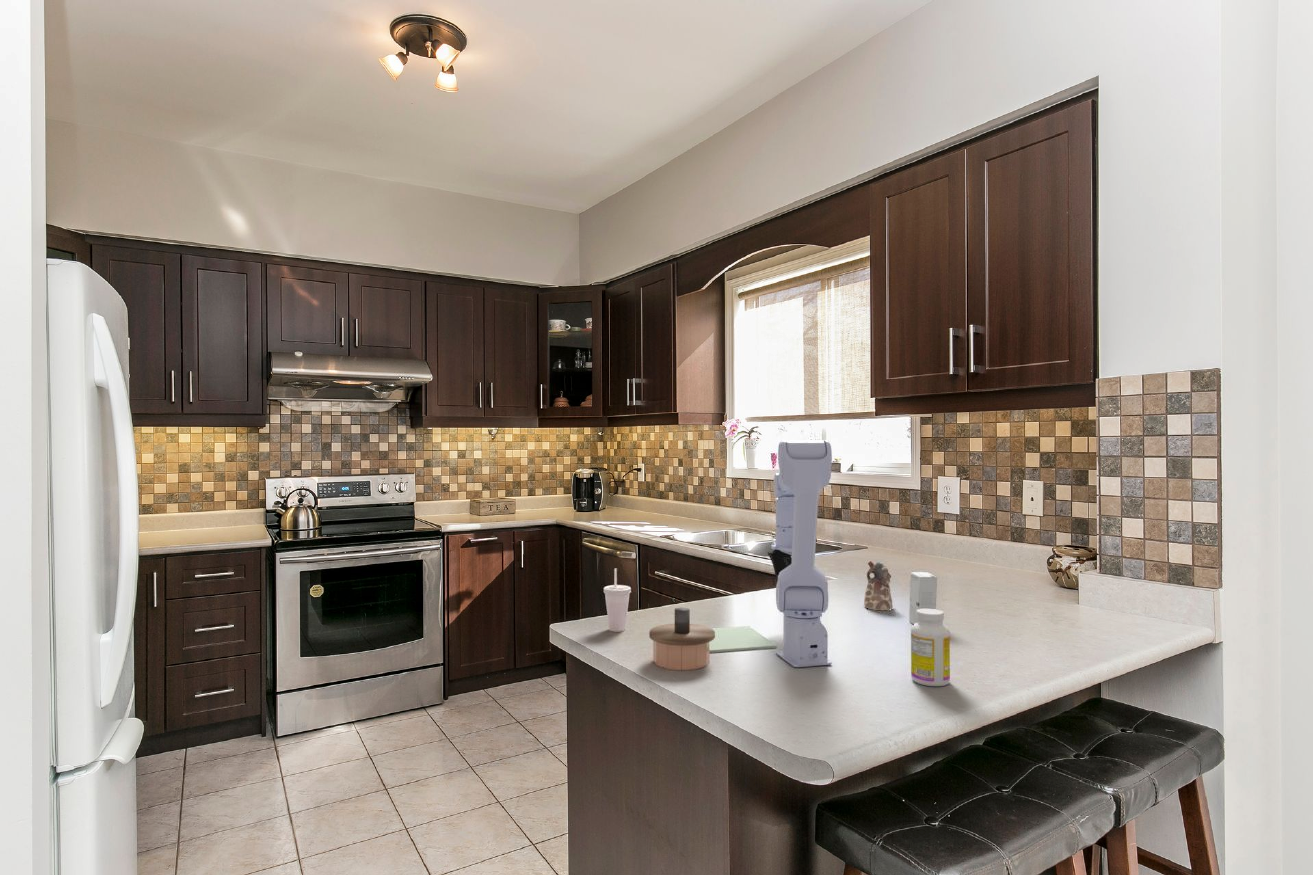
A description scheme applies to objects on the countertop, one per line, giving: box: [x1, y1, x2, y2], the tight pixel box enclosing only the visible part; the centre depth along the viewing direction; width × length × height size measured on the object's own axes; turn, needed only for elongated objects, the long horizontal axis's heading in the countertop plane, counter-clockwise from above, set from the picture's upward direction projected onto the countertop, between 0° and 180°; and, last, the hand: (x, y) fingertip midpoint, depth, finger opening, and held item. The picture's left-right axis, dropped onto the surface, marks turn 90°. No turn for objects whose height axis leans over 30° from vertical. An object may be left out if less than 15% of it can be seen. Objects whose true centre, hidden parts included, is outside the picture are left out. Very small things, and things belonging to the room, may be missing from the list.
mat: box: [709, 625, 777, 654], centre depth 160 cm, size 16×16×1 cm
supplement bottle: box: [910, 608, 951, 687], centre depth 133 cm, size 7×7×13 cm
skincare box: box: [908, 571, 938, 625], centre depth 172 cm, size 6×4×12 cm
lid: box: [648, 607, 715, 646], centre depth 145 cm, size 13×13×5 cm
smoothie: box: [603, 568, 632, 633], centre depth 168 cm, size 6×6×14 cm
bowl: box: [652, 640, 710, 671], centre depth 145 cm, size 11×11×5 cm
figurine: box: [863, 560, 894, 611], centre depth 189 cm, size 7×7×12 cm
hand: (788, 585), depth 167 cm, fingers open, 7 cm apart
